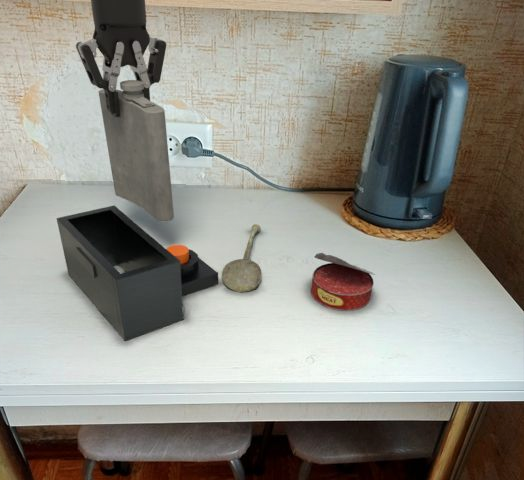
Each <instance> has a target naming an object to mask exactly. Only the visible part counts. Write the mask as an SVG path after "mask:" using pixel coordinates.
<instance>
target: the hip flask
mask: <svg viewBox="0 0 524 480" xmlns="http://www.w3.org/2000/svg"><path fill="white" fill-rule="evenodd" d="M119 87H120V89H116V91H117V92H118V98H119V107H120V117H114V116H112V115H111V113H110V112H108V110H107V107H106V99H105V91H104V89H102V88H101V89H100V90H98V97H99V104H100V110H101V115H102V122H103V128H104V133H105V140H106V146H107V153H108V158H109V165H110V170H111V176H112V182H113V183H112V184H113V189H114V194H115V196H116V197H118V198H121V199H124V200H125V201H128V202H130V203H133V204H134V205H136V206H138V207H140V208H141V209H143V210H144V211H146V212H147V213H148V214H150V215H151V216H152V217H153V218H154V219H155V220H156V221H157V222H165V223H166V222H169V221H172V220H174V218H175V214H174V213H175V212H174V202H173V191H172V190H173V189H172V180H171V169H170V157H169V155H170V154H169V146H168V136H167V135H168V134H167V133H168V132H167V124H166V123H167V122H166V111H165V108H163V107H162V106H160V105H159V104H157V103H155V102H153V101H151V100H150V101H149V100H148V99H146V98H144V92H143V91H142V90H143V89H144V83H143V82H142V81H138V80H136V79H129V80H128V79H127V80H123V81H120V82H119Z"/></svg>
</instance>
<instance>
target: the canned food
mask: <svg viewBox="0 0 524 480" xmlns="http://www.w3.org/2000/svg"><path fill="white" fill-rule="evenodd" d="M313 258H315V259H317V260H320V261H324V262H327V263H325V264H322V265H320V266H318V267H316V268H315V269H314V271H313V273H312V279H311V287H310V294H311V296H312V298H313V299H314V301H316V302H317V303H318V304H320V306H323V307H325V308H328V309H331V310H336V311H345V312H350V311H357V310H360V309H363V308H364V307H366V306H367V305H368V304H369V302H370V300H371V296H372V292H373V287H374V283H375V282H374V281H375V280H374V278H373V276H375V275H376V274H375V273H374V272H373V271H370V270H368V269H365V268H362V267H360V266H357V265H354V264H352V263H349V262H347V261H346V260H343V259H342V258H339V257H338V256H334V255H331V254H326V253H324V252H318V253H316V254H315V255H314V256H313ZM372 275H373V276H372Z"/></svg>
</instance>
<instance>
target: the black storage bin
mask: <svg viewBox="0 0 524 480" xmlns="http://www.w3.org/2000/svg"><path fill="white" fill-rule="evenodd" d="M56 222H57V228H58V232H59V237H60V243H61V247H62V251H63V256H64V260H65V264H66V270H67V274H68V276H69V277H70V278H71V280H72V281H73V282H74V283H75V285H77V287H78V288H79V290H81V291H82V292H83V294H84V295H85V296H86V297H87V298H88V299H89V301H90V302H91V303H92V305H94V307H95V308H96V309H97V310H98V311H99V312H100V313H101V315H102V316H103V317H104V319H106V321H107V322H108V323H109V324H110V326H111V327H113V329H114V330H115V331H116V332H117V334H118V335H119V336H120V338H121V339H122V340H123V341H124V342H126V341H129V340H132V339H135V338H137V337H141V336H143V335H145V334H148V333H152V332H154V331H157V330H159V329H162V328H164V327H168V326H170V325H173V324H175V323H179V322H181V321H184V309H183V307H184V306H183V296H182V285H181V266H180V260H178V259H177V258H176V257H175V256H174V255H173V254H171V253H170V252H169V251H168V250H167V248H166V247H164V246H163V245H162V244H161V243H159V241H157V240H156V239H155V238H154V237H152V236H151V235H150V234H149V233H148V232H147V231H145V229H143V228H142V227H141V226H140V225H138V224H137V223H136V222H135V221H134V220H132V219H131V218H130V217H129V216H128V215H126V214H125V213H124V212H123V211H122V210H120V209H119V208H118V207H117V206H116V205H110V206H106V207H101V208H96V209H92V210H87V211H82V212H77V213H74V214H69V215H65V216H59V217H56ZM115 266H119V267H120V268H121V269H122V270H123V271H124V272H120V271H119V270H118V269H116V267H115Z"/></svg>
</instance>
